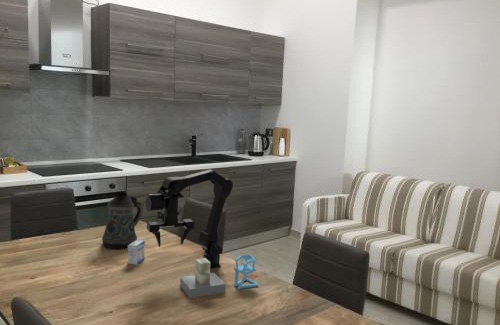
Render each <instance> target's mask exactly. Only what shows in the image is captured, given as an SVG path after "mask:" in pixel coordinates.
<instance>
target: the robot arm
mask: <svg viewBox="0 0 500 325" xmlns="http://www.w3.org/2000/svg"><path fill="white" fill-rule="evenodd" d="M208 181H209V182H210V183H212V185H213V193H214V195H213V196H214V198H213V203H212V205H211V209H210V213H209V217H208V221H207V226H206V227H205V229H204V231H203V230H201V231H200V232H199V237H198V240H199V241H198V244H199V245H200V247H201V248H202V250H203V255H202V258H206V259H207V260H208V261H209V262H210V269H212V268H219V267H221V264H220V255H222V254H223V248H222V247H221V246H220V245H219V233H218V230H219V226H220V222H221V219H222V215H223V210H224V207H225V202H226V200H227V198H228V197H229V196H230V195H231V193H232V189H233V188H234V187H233V186H234V183H233V181H232V180H231V179H228V178H226V177H224V176H222V175H221V174H219V173H217V172H216V171H215V170H213V169H206V170H203V171H199V172H196V173H191V174H188V175H185V176H168V177H165V178H164V179H163V182H162V185H161V186H160V188H159V189H158V190H157V192H156V193H148V194H147V197H146V199H145V201H144V204H145V206H144V207H145V210H146V211H147V212H148V213H149V212H155V213H156V214H155V215H156V216H155V217H156V220H160V222H161V223H159V222H157V221H148V222H147V223H146V229H147V231H148V232H149V233H151V234H152V235H154V236H155V238H156V243H157V245H158V247H159V248H160V247H161V243H162V242H161V231H160V229H171V228H180V240H179V241H180V245H181V246H183V244H184V241H185V239H186V238H187V236H188V234H189V233H190V231H191V232H192V230H193V229H195V226H196V224H195V222H194V221H193V220H192V219H191V218H185V219H184V218H183V219H181V221H179V215H180V212H179V204H180V203H179V202H180V201H179V200H180V198H184V195H183V194H182V193H181V192H182V191H184V190H185V189H186V188H189V187H191V186H194V185H198V184H201V183H204V182H208Z"/></svg>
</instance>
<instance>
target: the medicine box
mask: <svg viewBox="0 0 500 325" xmlns="http://www.w3.org/2000/svg"><path fill="white" fill-rule="evenodd" d="M145 243H146V242H145V240H141V239H137V240H135V241H134V242H132V243H131V244H129V245H128V249H127V264H128V265H135V266H137V265H139V264H140V263H141V262H142V261H144V260H145V250H146V249H145V246H146V244H145Z"/></svg>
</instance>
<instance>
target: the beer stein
mask: <svg viewBox="0 0 500 325" xmlns="http://www.w3.org/2000/svg"><path fill="white" fill-rule="evenodd" d="M107 208H108V213H107V219H106V225H105V227H104V228H105V229H104V231H103V235H102V238H101V241H102V245H103V248H105V249H108V250H115V251H120V250H121V251H122V250H128V245H129V244H131V243H132V242H134V241H135V240H138V236H137V234H136V230H135V227H136V226H137V224H138V223H139V222H140V219H141V218H142V216H143V211H144V209H143V205H142V202H140V201H138V199H137V197H136V196H133V195H129V194H128V193H117V194H116V196H115V197H113V198H112V199H111V200H109V201H108V202H107ZM134 208H136V209H137V210H136V213H135V216H134V214H133V209H134Z"/></svg>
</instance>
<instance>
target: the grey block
mask: <svg viewBox="0 0 500 325" xmlns="http://www.w3.org/2000/svg"><path fill="white" fill-rule="evenodd" d="M179 278H180V279H179V282H180V284H179V287H180V288H181V289H182V290H183V292H184V293H185V294H186V295H187V296H188V297H189V299H195V298H202V297H207V296H212V295H218V294H219V295H220V294H226V283H225V282H224V281H223V280H222V279H221V278H220V277H219V276H218V275H217V274H216V273H215V272H214V271H213V272H210V282H208V283H203V284H200V283H199V282H198V281H197V280H196V279H195V274H194V275H187V276H180V277H179Z"/></svg>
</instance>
